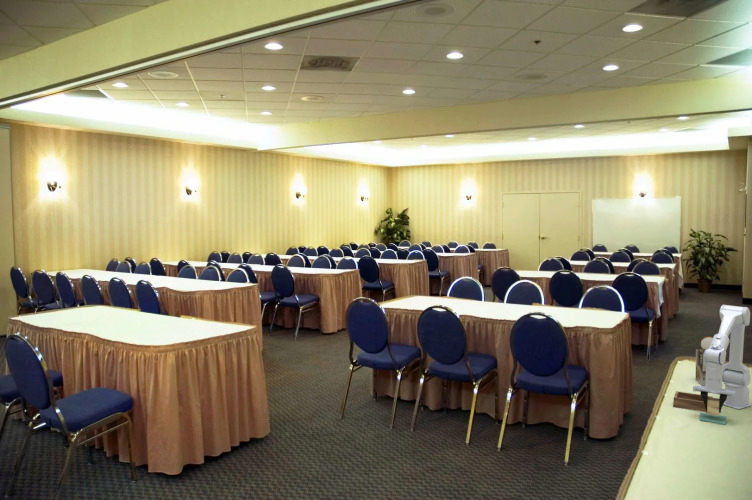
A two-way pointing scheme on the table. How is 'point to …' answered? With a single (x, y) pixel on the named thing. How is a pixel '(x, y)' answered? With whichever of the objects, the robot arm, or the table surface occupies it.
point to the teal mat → (713, 418)
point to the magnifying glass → (706, 342)
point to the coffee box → (700, 367)
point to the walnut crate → (689, 401)
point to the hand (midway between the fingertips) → (713, 410)
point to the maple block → (713, 406)
